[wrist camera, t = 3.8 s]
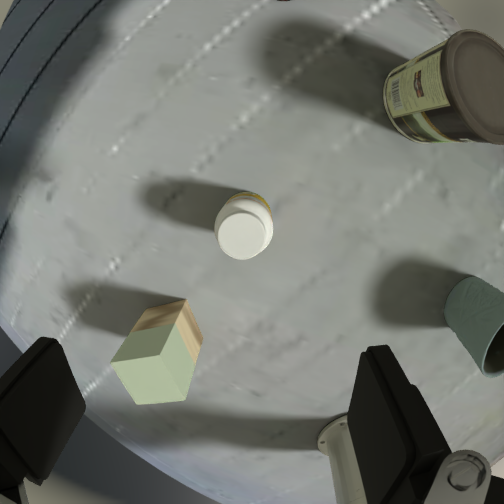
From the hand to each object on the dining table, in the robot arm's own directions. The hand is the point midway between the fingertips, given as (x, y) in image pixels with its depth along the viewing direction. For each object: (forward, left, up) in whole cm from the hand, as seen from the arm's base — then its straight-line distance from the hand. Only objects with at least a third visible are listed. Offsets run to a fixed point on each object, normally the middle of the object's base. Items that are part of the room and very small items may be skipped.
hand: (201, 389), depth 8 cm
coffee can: (-21, -14, -28) cm, 37 cm away
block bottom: (+10, +14, -28) cm, 33 cm away
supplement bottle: (0, 0, -28) cm, 28 cm away
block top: (+10, +14, -22) cm, 28 cm away
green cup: (-32, +13, -28) cm, 44 cm away
